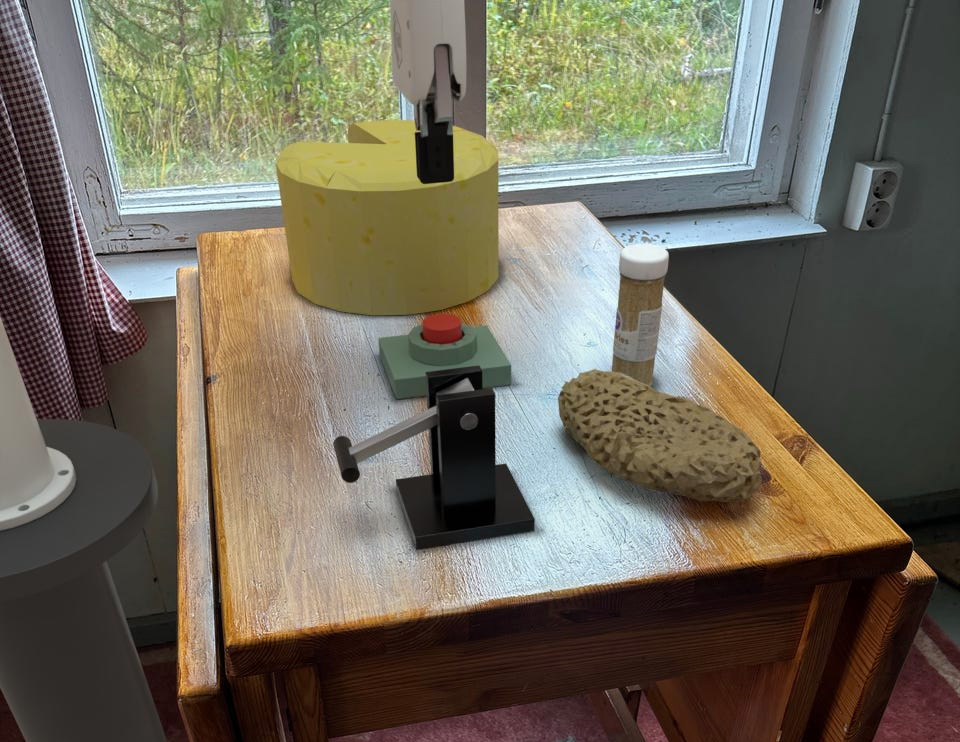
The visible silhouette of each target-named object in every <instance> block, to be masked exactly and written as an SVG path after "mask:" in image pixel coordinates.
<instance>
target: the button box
mask: <svg viewBox="0 0 960 742" xmlns="http://www.w3.org/2000/svg"><path fill="white" fill-rule="evenodd" d="M461 323H462V339H461V340H459V341H457V342H454V343H449V344H433V343H428V342H426V341H424V340H423V327H422V323H420V324H419V325H416V326H414V327H413V328H412V329H411V330H410V331H409V333H408V334H400V335H392V336H391V335H390V336H383V337H378V339H377V340H378V350H379V351H378V352H379V358H380V361H381V364H382V366H383V368H384V372H385V373H386V377H387V379H388V381H389V384H390V387H391V389H392V392H393V395H394V397H395V399H396V400H403V399H410V398H418V397H427V391H426V372H430V371H438V370H446V369H454V368H462V367H470V366H478V365H479V366H480V367H481V369H482V376H483V389H488V388H495V387H502V386H503V387H505V386H511V385H512V363H511V362H510V360H509V359H508V357H507V356H506V354H505V352H504V351H503V349H502V347H501V345H500V344H499V342H498V341H497V339H496V338H495V336H494V334H493V332H492V331H491V329H490V328H489V326H488V325H487V324H484V325H477V326H476V325H475V326H471V325H468V324H466V323H464V322H462V321H461Z"/></svg>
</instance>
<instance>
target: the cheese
mask: <svg viewBox="0 0 960 742" xmlns="http://www.w3.org/2000/svg"><path fill="white" fill-rule="evenodd" d="M415 132H420V131H416V127H415V120H411V119H389V120H387V119H386V120H385V119H383V120H381V119H379V120H371V121H359V122H352V123H351V124H350V125H348V128H347V139H348V142H329V141H328V142H325V141H324V142H323V141H321V142H320V141H296V142H293V143H291V144H288V145H287V146H285V147H284V148H283V149H282V151H281V152H280V154H279V156H278V158H277V159H276V161H275V168H276V176H277V182H278V190H279V197H280V204H281V211H282V218H283V225H284V232H285V239H286V246H287V253H288V260H289V267H290V275H291V281H292V283H293V285H294V288H295V290H296V291H297V293H298V294H299V295H301V296H302V297H304V298H305V299H307V300H308V301H309V302H311V303H313V304H315V305H317V306H321V307H324V308H328V309H331V310H333V311H337V312H339V313H340V312H342V313H350V314H358V315H366V316H409V315H416V314H423V313H430V312H436V311H442V310H446V309H448V308H449V309H450V308H453V307H455V306H458V305H462V304H465V303H469V302H471V301H472V300H474V299H476V298H477V297H479V296H481V295H483V294H485V293H486V292H489V291H490V289H492V287H493V286H494V284H495V283H496V282H497V281H498V279H499V149H498V148H497V147H496V146H495V145H494V144H493V143H491V142H490V141H489V140H487V138H485V137H484V136H483V135H481V134H478V133H476V132H474V131H473V132H472V131H470V130H467V129H465V128H462V127H459V126H456V125H453V147H454V180H453V181H452V182H443V183H432V184H422V183H421V182H420V180H419V179H418V177H417V168H416V148H415Z"/></svg>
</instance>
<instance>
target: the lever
mask: <svg viewBox="0 0 960 742" xmlns="http://www.w3.org/2000/svg"><path fill="white" fill-rule="evenodd" d="M473 390H474V388H473V386H472V384H471V383H470V381H469V379H468V378H466V379H464V380H462V381H460V382H458V383H456V384H454V385H451V386H449V387H447V388H445V389H443V390H441V391H439V392H437V393H436V395H442V394H450V393H458V392H465V391H473ZM436 425H437V405H436V406H434V407H432V408H430V409H428V410H427V409H426V410H423V411H422V412H420V413H417V414H415V415H413V416H412V417H409V418H406V419H405V420H403V421H400V422H399V423H397V424H395V425H392V426H391V427H389V428H386V429H385V430H382V431H381V432H378V433H376V434H374V435H372V436H370V437H368V438H366V439H364V440H362V441H360V442H357V443H356V444H354V445H353V444H352V441H351V439H350V438H349V437H347V436H346V435H340V436H337V437H336V438H334V440H333V442H332V447H333V450H334V454H335V458H336V461H337V465H338V468H339V472H340V477H341V479H342V480H343V481H344V482H345V483H347V484H353V483H356V482H357V481H358V480H359V479H360V477H361V471H360V469H359V466H358V465H359V463H362V462H364V461H366V460H368V459H370V458H372V457H374V456H376V455H378V454H380V453H382V452H384V451H386V450H388V449H391V448H392V447H394V446H397V445H398V444H401V443H403V442H405V441H407V440H409V439H412V438H413V437H415V436H417V435H419V434H421V433H424V432H425V431H429V429H430V428H432V427H434V426H436Z"/></svg>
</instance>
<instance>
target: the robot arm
mask: <svg viewBox="0 0 960 742" xmlns="http://www.w3.org/2000/svg"><path fill="white" fill-rule="evenodd" d="M389 5H390V6H389V8H390V11H389V12H390V13H389V14H390V40H391V41H390V43H391V77H392V80H393V83H394V85H395V87H396V88H397V89H398V91H399V92H400V93H401V94H402V96H403V97H404V98H405V99H406V100H407V101H408V102H409V103H410V104H411V105H413V115H414V121H415V127H416V131H420V132H415V148H416V168H417V177H418V179H419V180H420V182H421V183H422V184H432V183H443V182H452V181H453V180H454V147H453V126H454V119H453V117H454V101H456V102H460V101H462V100H463V99H464V98H465V96H466V94H467V72H468V71H467V69H468V67H467V66H468V65H467V34H466V30H467V29H466V9H465V8H466V7H465V0H389ZM75 483H76V473H75V470H74V467H73V465H72V462H71V460H70V459H69V458H68V457H67V456H66V455H65V454H63V453H61V452H60V451H58V450H55V449H52V448H49V447H46V445H45V442H44V439H43V436H42V433H41V430H40V428H39V425H38V422H37V416H36V413H35V411H34V408H33V405H32V402H31V399H30V397H29V394H28V390H27V387H26V386H25V381H24V380H23V377H22V374H21V372H20V369H19V365H18V363H17V360H16V357H15V354H14V351H13V348H12V346H11V343H10V339H9V337H8V334H7V332H6V328H5V326H4V322H3V320H2V317H1V316H0V531H3V530H8V529H12V528H15V527H18V526H21V525H24V524H27V523H29V522H32V521H34V520H36V519H38V518H40V517H42V516H44V515H46V514H47V513H49V512H51V511H52V510H54V509H55V508H56V507H58V506H59V505H60V504H62V503H63V502H64V501H65V499H66V498H67V497H68V496H69V495H70V494H71V492H72V490H73V489H74V487H75Z"/></svg>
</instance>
